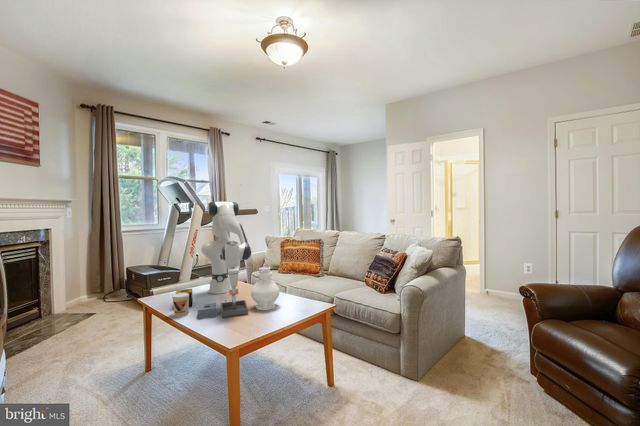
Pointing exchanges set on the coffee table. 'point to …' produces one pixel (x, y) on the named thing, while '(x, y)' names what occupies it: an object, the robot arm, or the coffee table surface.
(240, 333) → the coffee table surface
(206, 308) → the hitch block
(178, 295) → the coffee cup
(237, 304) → the tray
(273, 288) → the decorative vase
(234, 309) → the pin
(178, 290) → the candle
